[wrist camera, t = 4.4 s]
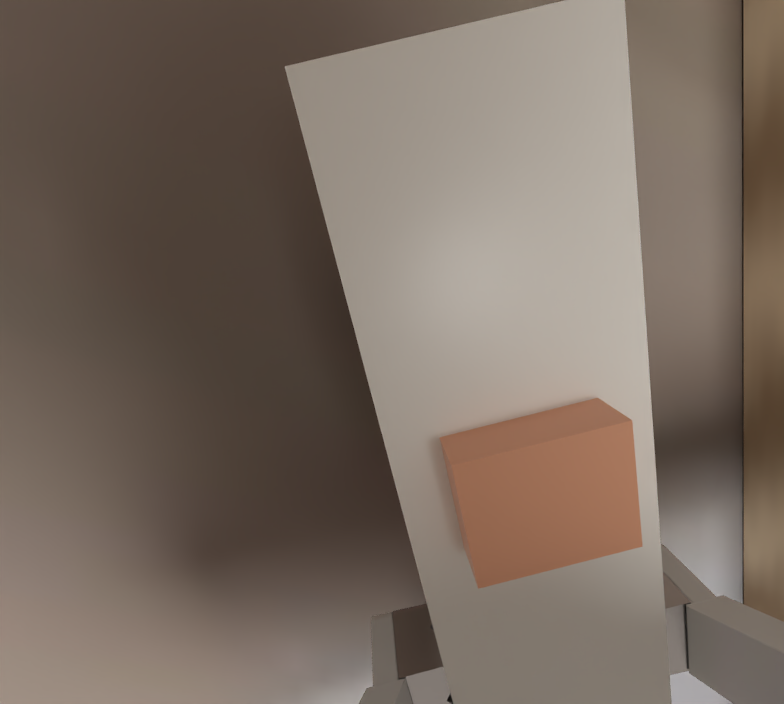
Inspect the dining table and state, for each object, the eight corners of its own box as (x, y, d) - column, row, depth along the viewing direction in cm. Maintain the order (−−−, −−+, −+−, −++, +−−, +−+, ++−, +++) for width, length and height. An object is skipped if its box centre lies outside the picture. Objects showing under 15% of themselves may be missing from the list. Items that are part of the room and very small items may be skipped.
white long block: (324, 161, 11) (269, 31, 4) (478, 124, 11) (673, -62, 4) (476, 753, 16) (554, 1093, 10) (574, 727, 17) (716, 1048, 10)
